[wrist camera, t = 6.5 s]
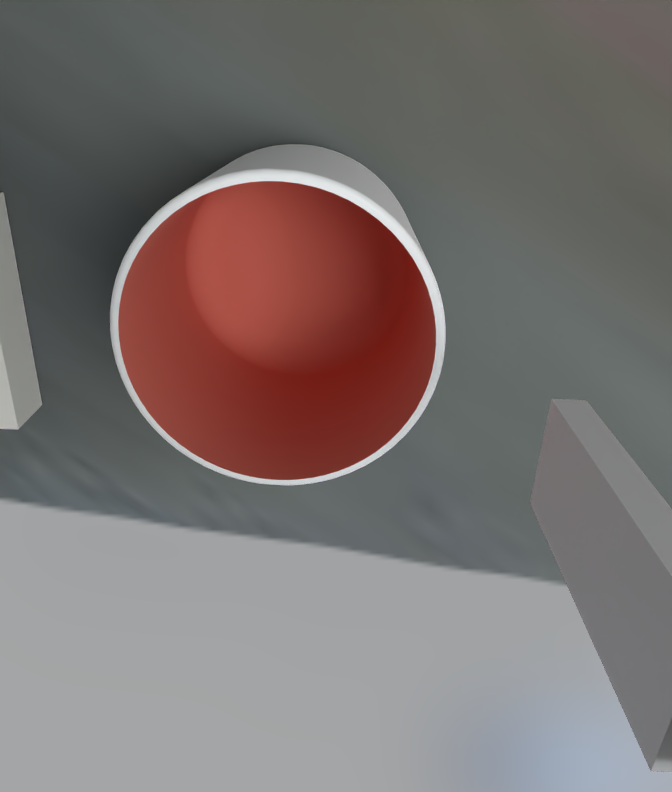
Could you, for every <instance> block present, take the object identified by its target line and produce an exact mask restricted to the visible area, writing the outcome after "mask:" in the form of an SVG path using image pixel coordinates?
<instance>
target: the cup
mask: <svg viewBox="0 0 672 792" xmlns="http://www.w3.org/2000/svg"><path fill="white" fill-rule="evenodd" d="M110 333H111V341H112V348H113V352H114V356H115V360H116V364H117V367H118V370H119V373H120V375H121V378H122V380H123V383H124V385H125V387H126V389H127V391H128V393H129V395H130V396H131V398H132V400H133V402H134V403H135V405H136V406H137V408H138V409H139V411H140V412H141V414H142V415H143V416H144V417H145V419H146V420H147V421H148V422H149V424H150V425H151V426H152V427H153V428H154V429H155V430H156V431H157V432H158V433H159V434H160V435H161V436H162V437H163V438H164V439H165V440H166V441H167V442H169V443H170V444H171V445H172V446H174V447H175V448H176V449H177V450H179V451H180V452H182V453H183V454H185V455H186V456H188V457H189V458H191V459H192V460H194V461H196V462H198V463H199V464H201V465H203V466H205V467H207V468H209V469H212V470H214V471H216V472H219V473H221V474H224V475H227V476H230V477H233V478H236V479H240V480H244V481H249V482H254V483H260V484H272V485H302V484H309V483H316V482H321V481H325V480H329V479H334V478H336V477H339V476H342V475H345V474H348V473H351V472H353V471H355V470H357V469H359V468H361V467H363V466H365V465H367V464H369V463H370V462H372V461H374V460H375V459H377V458H379V457H380V456H382V455H383V454H384V453H385V452H387V451H388V450H389V449H391V448H392V447H393V446H394V445H395V444H396V443H398V442H399V441H400V440H401V439H402V438H403V437H404V436H405V435H406V434H407V433H408V431H409V430H410V429H411V428H412V427H413V425H414V424H415V423H416V422H417V420H418V419H419V417H420V416H421V414H422V413H423V411H424V410H425V408H426V406H427V404H428V402H429V400H430V398H431V396H432V394H433V392H434V390H435V387H436V384H437V381H438V379H439V376H440V372H441V368H442V363H443V359H444V350H445V316H444V309H443V304H442V299H441V295H440V292H439V288H438V285H437V282H436V279H435V277H434V275H433V272H432V270H431V267H430V265H429V263H428V261H427V259H426V257H425V255H424V253H423V250H422V248H421V246H420V244H419V242H418V240H417V238H416V236H415V234H414V231H413V229H412V227H411V225H410V223H409V221H408V219H407V216H406V214H405V212H404V211H403V209H402V207H401V205H400V203H399V202H398V200H397V199H396V197H395V196H394V195H393V193H392V192H391V191H390V189H389V188H388V187H387V186H386V185H385V184H384V183H383V182H382V181H381V180H380V179H379V178H378V177H377V176H376V175H375V174H374V173H373V172H371V171H370V170H369V169H367V168H366V167H365V166H363V165H362V164H360V163H359V162H357V161H355V160H354V159H352V158H350V157H348V156H346V155H344V154H341V153H339V152H336V151H333V150H330V149H327V148H323V147H318V146H313V145H304V144H286V145H276V146H270V147H265V148H262V149H258V150H255V151H253V152H250V153H248V154H245V155H243V156H241V157H239V158H237V159H235V160H234V161H232V162H230V163H229V164H227V165H226V166H224V167H222V168H221V169H219V170H218V171H216V172H214V173H213V174H211V175H209V176H208V177H206V178H205V179H203V180H201V181H200V182H198V183H197V184H195V185H193V186H192V187H190V188H188V189H187V190H185V191H184V192H182V193H181V194H179V195H178V196H176V197H175V198H173V199H172V200H170V201H169V202H168V203H166V204H165V205H164V206H163V207H162V208H161V209H159V210H158V211H157V212H156V213H155V214H154V215H153V216H152V217H151V218H150V219H149V221H148V222H147V223H146V224H145V225H144V226H143V227H142V229H141V230H140V231H139V233H138V234H137V236H136V237H135V238H134V240H133V241H132V243H131V245H130V246H129V248H128V250H127V252H126V254H125V256H124V258H123V260H122V262H121V265H120V268H119V270H118V273H117V276H116V279H115V283H114V288H113V292H112V298H111V308H110Z"/></svg>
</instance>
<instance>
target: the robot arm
mask: <svg viewBox="0 0 672 792" xmlns="http://www.w3.org/2000/svg"><path fill="white" fill-rule="evenodd" d="M530 504H531V506H532V509H533V511H534V513H535V515H536V517H537V520H538V522H539V524H540V526H541V529H542V531H543V533H544V535H545V537H546V540H547V542H548V544H549V546H550V549H551V551H552V553H553V555H554V557H555V560H556V562H557V564H558V566H559V569H560V571H561V573H562V575H563V577H564V580H565V582H566V584H567V586H568V588H569V591H570V593H571V595H572V597H573V599H574V602H575V604H576V606H577V608H578V610H579V613H580V615H581V617H582V619H583V622H584V624H585V626H586V628H587V630H588V633H589V635H590V637H591V639H592V642H593V644H594V646H595V648H596V651H597V653H598V655H599V657H600V659H601V662H602V664H603V666H604V668H605V671H606V673H607V675H608V677H609V679H610V682H611V683H612V686H613V688H614V690H615V693H616V695H617V697H618V699H619V702H620V704H621V706H622V708H623V710H624V712H625V715H626V717H627V719H628V721H629V724H630V726H631V728H632V730H633V732H634V735H635V737H636V739H637V741H638V744H639V746H640V748H641V750H642V752H643V755H644V757H645V759H646V761H647V763H648V766H649V768H650V770H651V771H657V772H658V771H659V772H672V509H671V507H670V506H669V505H668V504H667V502H666V501H665V500H664V498H663V497H662V496H661V495H660V493H659V492H658V491H657V490H656V488H655V487H654V486H653V484H652V483H651V482H650V481H649V479H648V478H647V477H646V476H645V474H644V473H643V472H642V471H641V469H640V468H639V467H638V465H637V464H636V463H635V462H634V460H633V459H632V458H631V457H630V455H629V454H628V453H627V452H626V450H625V449H624V448H623V446H622V445H621V444H620V443H619V441H618V440H617V439H616V438H615V436H614V435H613V434H612V432H611V431H610V430H609V429H608V427H607V426H606V425H605V424H604V422H603V421H602V420H601V419H600V417H599V416H598V415H597V413H596V412H595V411H594V410H593V408H592V407H591V406H590V405H589V403H588V402H587V401H586V400H565V399H551V403H550V408H549V413H548V418H547V423H546V428H545V433H544V438H543V442H542V447H541V452H540V457H539V462H538V467H537V472H536V477H535V481H534V486H533V491H532V496H531V501H530Z"/></svg>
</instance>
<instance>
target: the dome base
mask: <svg viewBox="0 0 672 792" xmlns="http://www.w3.org/2000/svg"><path fill="white" fill-rule="evenodd" d="M41 406H42V401H41V395H40V390H39V384H38V379H37V373H36V368H35V362H34V357H33V351H32V346H31V340H30V335H29V329H28V324H27V318H26V313H25V307H24V302H23V296H22V291H21V285H20V280H19V274H18V269H17V263H16V258H15V252H14V247H13V241H12V236H11V230H10V225H9V219H8V214H7V208H6V203H5V197H4V192H0V429H19V428H20V427H21V426H22V425H23V424H24V423H25V422H26V421H27V420H28V419H29V418H30V417H31V416H32V415H33V414H34V413H35V412H36V411H37V410H38V409H39V408H40V407H41Z"/></svg>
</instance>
